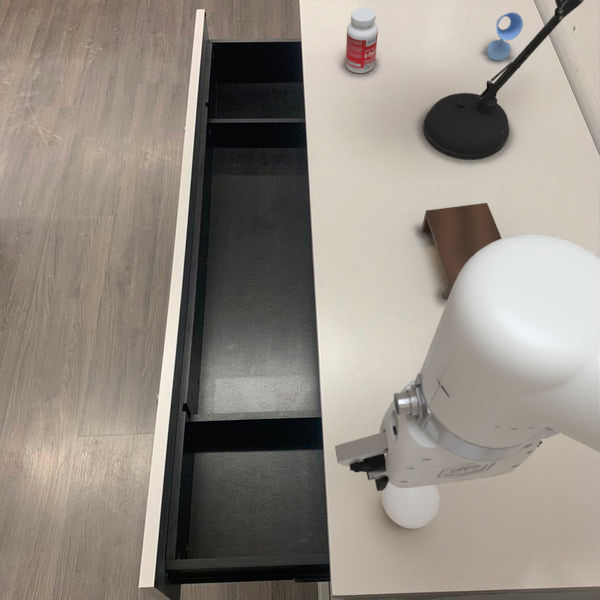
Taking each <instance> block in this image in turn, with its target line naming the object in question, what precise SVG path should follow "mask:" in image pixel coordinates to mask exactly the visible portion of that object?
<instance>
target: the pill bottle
mask: <svg viewBox="0 0 600 600" xmlns="http://www.w3.org/2000/svg"><path fill="white" fill-rule="evenodd" d="M378 33H379V27H378V25H377V23H376V12H375V11H374V10H373V9H371V8H368V7H358V8H356V9H354V10H352V11H351V15H350V23H349V24H348V25H347V27H346V45H345V67H346V68H347V70H349V71H350V72H352V73H354V74H366V73H368V72H370V71H373V69H374V67H375V65H376V56H377V46H378V45H377V44H378V36H379V35H378Z"/></svg>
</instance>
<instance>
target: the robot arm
mask: <svg viewBox="0 0 600 600" xmlns="http://www.w3.org/2000/svg"><path fill="white" fill-rule="evenodd" d="M446 300H447V301H446V303H445V306H444V308H443V311H442V313H441V316H440V319H439V321H438V324H437V327H436V328H435V329H436V330H435V332H434V334H433V337H432V340H431V343H430V345H429V347H428V350H427V353H426V355H425V358H424V361H423V364H422V366H421V368H420V372H419V373H417V375H416V377H415V379H414V380H412V381H410V382H408V383H407V384H406V385H405V386H404V387H403V388H402V389H401V390H400V392H395V393H394V394H393V400H392V401H391V403H390V404H389V406H388V408H387V409H386V411H385V412H384V413H385V414H384V416H383V418H382V420H381V423H380V426H379V433H376V434H371V435H369V436H365V437H361V438H358V439H354V440H351V441H347V442H344V443H339V444H336V445H335V447H334V449H335V454H336V461H337V464H339V465H342V466H345V467H348V466H349V470H350V471H351V472H354V473H360V472H361V473H366V476H367V480H368V481H373V480H374V482H375V483H374V484H375V487H376V491H377V492H380V491H381V492H382V490H384V489H385V488H386V486H387V484H388V482H389V481H390V483H391V484H392V485H394V486H396V487H398V488H413V487H422V486H429V485H436V486H437V485H444V484H450V483H451V484H452V483H458V482H459V483H460V482H465V481H472V480H480V479H487V478H493V477H498V476H502V475H506V474H510V473H512V472H514V471H515V470H516V469H518V468H519V467H520V466H521V465H522V464H523V463H524V462H526V460H527V459H528V458H530V456H531V455H532V454H533V453H534V452H535V451H536V450H537V448H540V445H541V444H543V440H546V439H549V438H552V437H554V436H556V435H559V434H561V435H563V436H566V437H567V438H569V439H571V440H574V441H575V442H578V443H580V444H582V445H584V446H586V447H588V448H589V449H592V450H594V451H595V452H598V453H600V257H599V256H598V255H597V254H595V253H594V252H593V251H591V250H589V249H587V248H585V247H584V246H582V245H580V244H578V243H576V242H573V241H571V240H568V239H565V238H562V237H558V236H554V235H550V234H542V233H523V234H516V235H510V236H506V237H503V238H502V239H500V240H497V241H494V242H492V243H490V244H489V245H487V246H485V247H484V248H482V249H481V250H479V251H478V252H477V253H476V254H474V255H473V256H472V257H471V258H470V259H469V260H468V261H467V262H466V264H465V265H464V266H463V268H462V269H461V271H460V273H459V275H458V277H457V279H456V281H455V283H454V285H453V287H452V290H451V293H450V295H449V298H448V299H446Z"/></svg>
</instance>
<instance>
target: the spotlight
mask: <svg viewBox="0 0 600 600" xmlns="http://www.w3.org/2000/svg"><path fill="white" fill-rule="evenodd" d="M504 17H507V18H509V22H510V23H509V25H508V26H507V27H506V28H504V29H502V28H500V27H499V24H500V22H501V21H502V19H504ZM523 27H524V20H523V18H522V16H521V15H520V14H519V13H517V12H515V11H511V12H507V13H504V14H503V15H501V16H499V17H498V19H497V20H496V27H495V28H496V29H495V30H496V34H497V37H498V38H499V39H496V40H493V41H490V42H489V44H488V47H487V50H486V55H487V57H488V58H490V59H491V60H494V61H504V60H506V59H508V58H509V56H510V53H511V49H512V46H511V44H510V43H509V42H508V41H511V40H514V39H516V38H517V37H518V36H519V35H520V34H521V32H522V30H523Z"/></svg>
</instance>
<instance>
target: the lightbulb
mask: <svg viewBox="0 0 600 600" xmlns="http://www.w3.org/2000/svg"><path fill="white" fill-rule="evenodd" d="M440 498H441V496H440V491H439V489H438V486H437V485H429V486H422V487H413V488H398V487H396V486H394V485H392V484H391V483H390V481H389V482H388V484H387V486H386V488H385V489H384V490H382V491H381V502H382V506H383V509H384V511H385V513H386V514H387V516H388V517H389V518H390V520H391V521H392V522H393V523H395V524H397V525H398V526H400V527H402V528H406V529H411V530H412V529H420V528H423V527H425V526H427V525H429V524H430V523H431V522H432V521H433V520H434V519H435V517H436V516H437V514H438V512H439V509H440V504H441V499H440Z"/></svg>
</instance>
